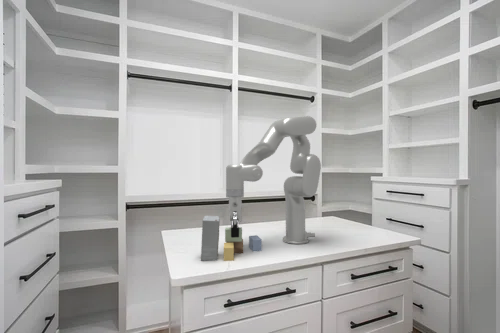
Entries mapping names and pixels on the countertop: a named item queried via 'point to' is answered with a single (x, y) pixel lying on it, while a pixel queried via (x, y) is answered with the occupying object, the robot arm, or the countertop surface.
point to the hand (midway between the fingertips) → (234, 234)
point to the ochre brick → (228, 251)
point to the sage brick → (234, 239)
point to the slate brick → (255, 243)
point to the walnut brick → (237, 247)
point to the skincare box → (210, 238)
